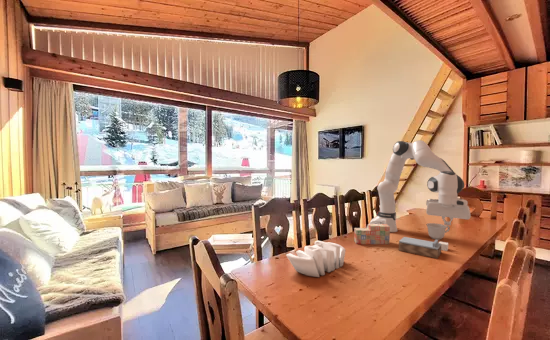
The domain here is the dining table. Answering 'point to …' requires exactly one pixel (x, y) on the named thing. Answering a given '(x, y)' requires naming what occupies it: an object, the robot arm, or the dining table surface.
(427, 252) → the box
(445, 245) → the cube
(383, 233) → the stack of blocks
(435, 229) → the teacup
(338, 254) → the wavy white extrusion
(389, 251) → the dining table surface
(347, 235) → the dining table surface
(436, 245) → the lid
